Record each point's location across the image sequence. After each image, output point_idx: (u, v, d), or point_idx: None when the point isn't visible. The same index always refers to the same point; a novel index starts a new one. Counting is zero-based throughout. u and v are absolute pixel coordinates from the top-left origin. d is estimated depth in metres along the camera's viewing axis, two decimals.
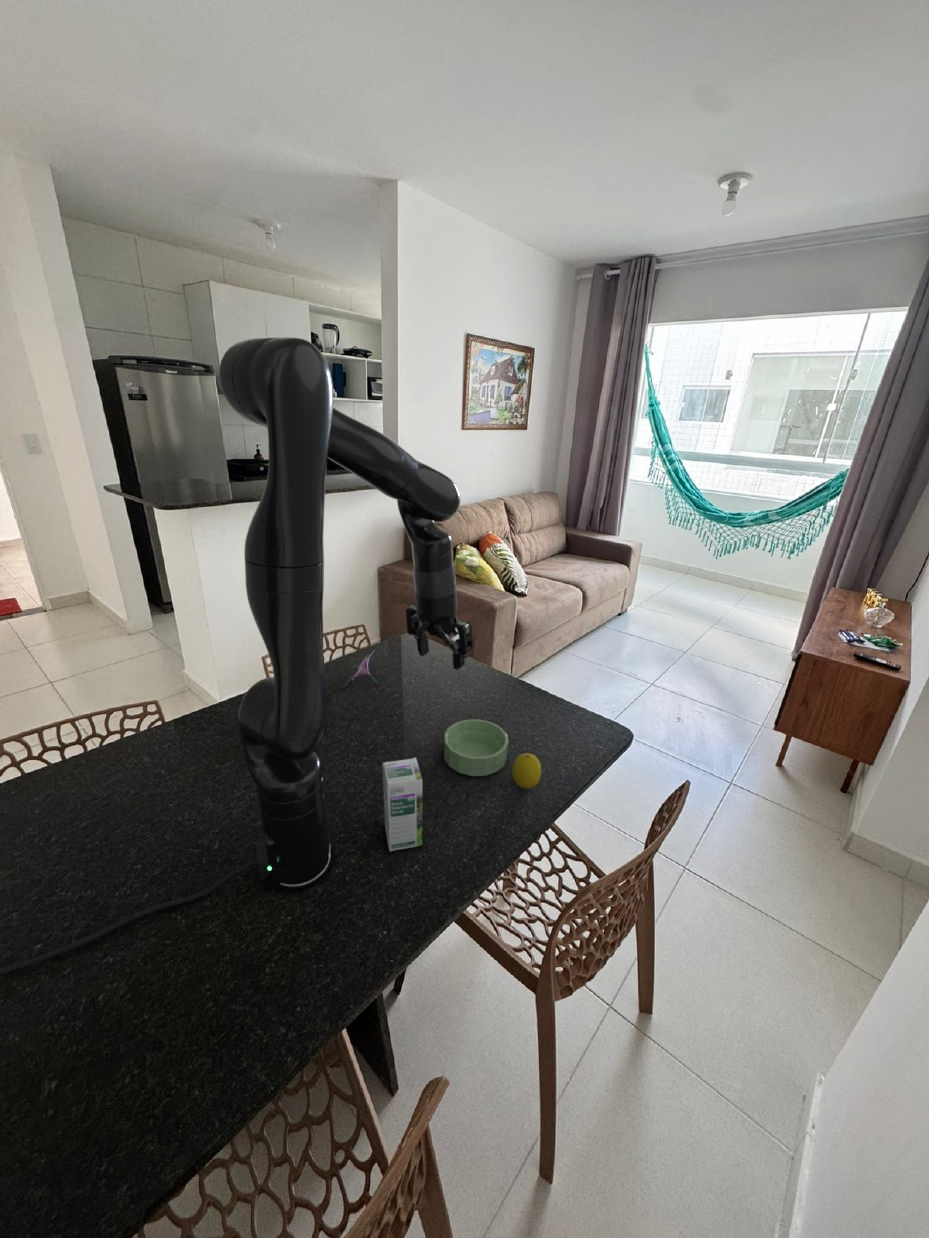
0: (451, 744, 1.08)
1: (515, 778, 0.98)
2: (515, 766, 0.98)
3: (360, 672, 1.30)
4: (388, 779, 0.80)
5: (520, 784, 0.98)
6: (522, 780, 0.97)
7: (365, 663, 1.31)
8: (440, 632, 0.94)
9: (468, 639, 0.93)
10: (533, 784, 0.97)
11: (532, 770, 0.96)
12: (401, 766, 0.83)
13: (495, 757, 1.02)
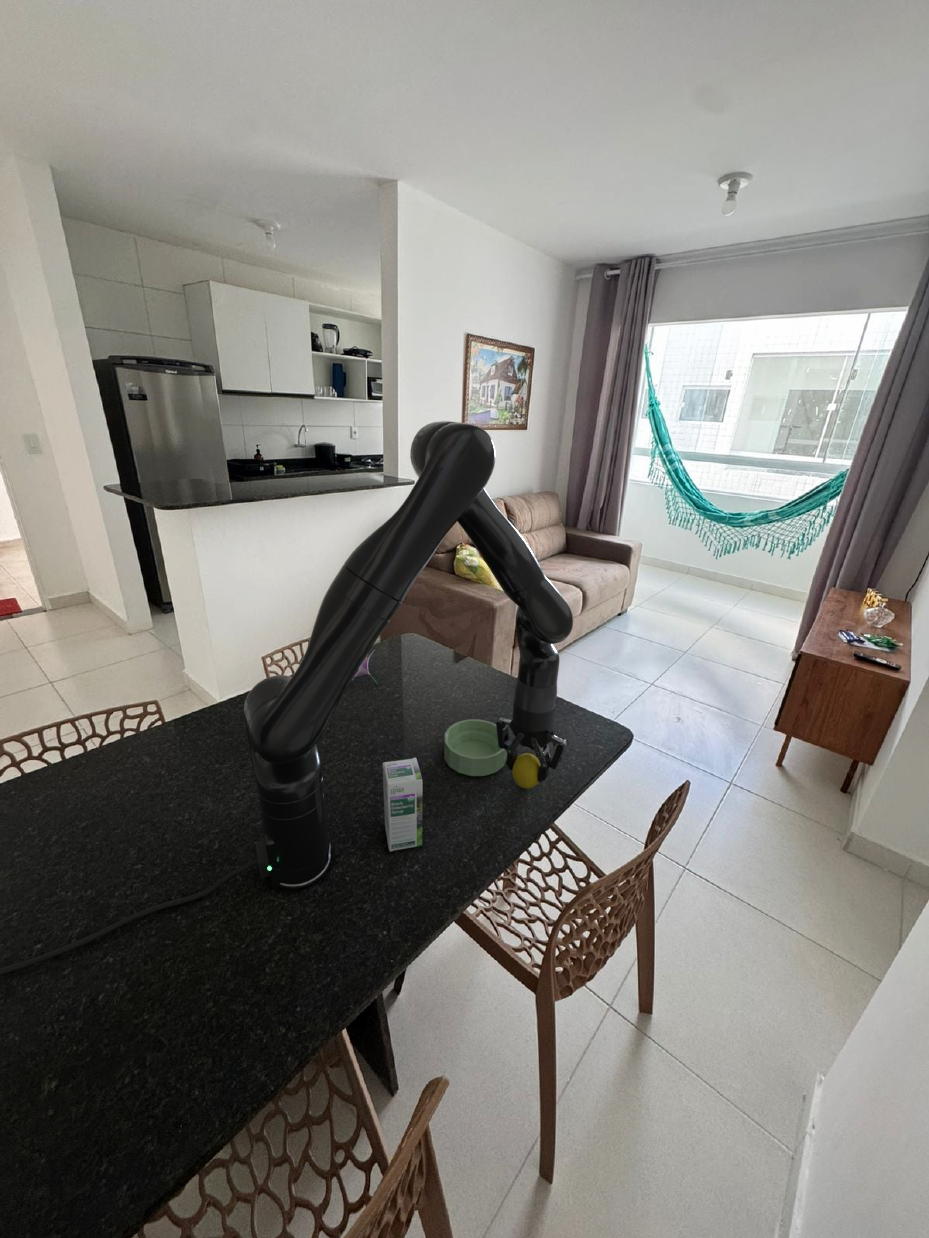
0: (451, 744, 1.08)
1: (515, 778, 0.98)
2: (515, 766, 0.98)
3: (360, 672, 1.30)
4: (388, 779, 0.81)
5: (520, 784, 0.98)
6: (522, 780, 0.97)
7: (365, 663, 1.31)
8: (535, 745, 0.94)
9: (561, 755, 0.94)
10: (533, 784, 0.97)
11: (532, 770, 0.96)
12: (401, 766, 0.83)
13: (495, 757, 1.02)
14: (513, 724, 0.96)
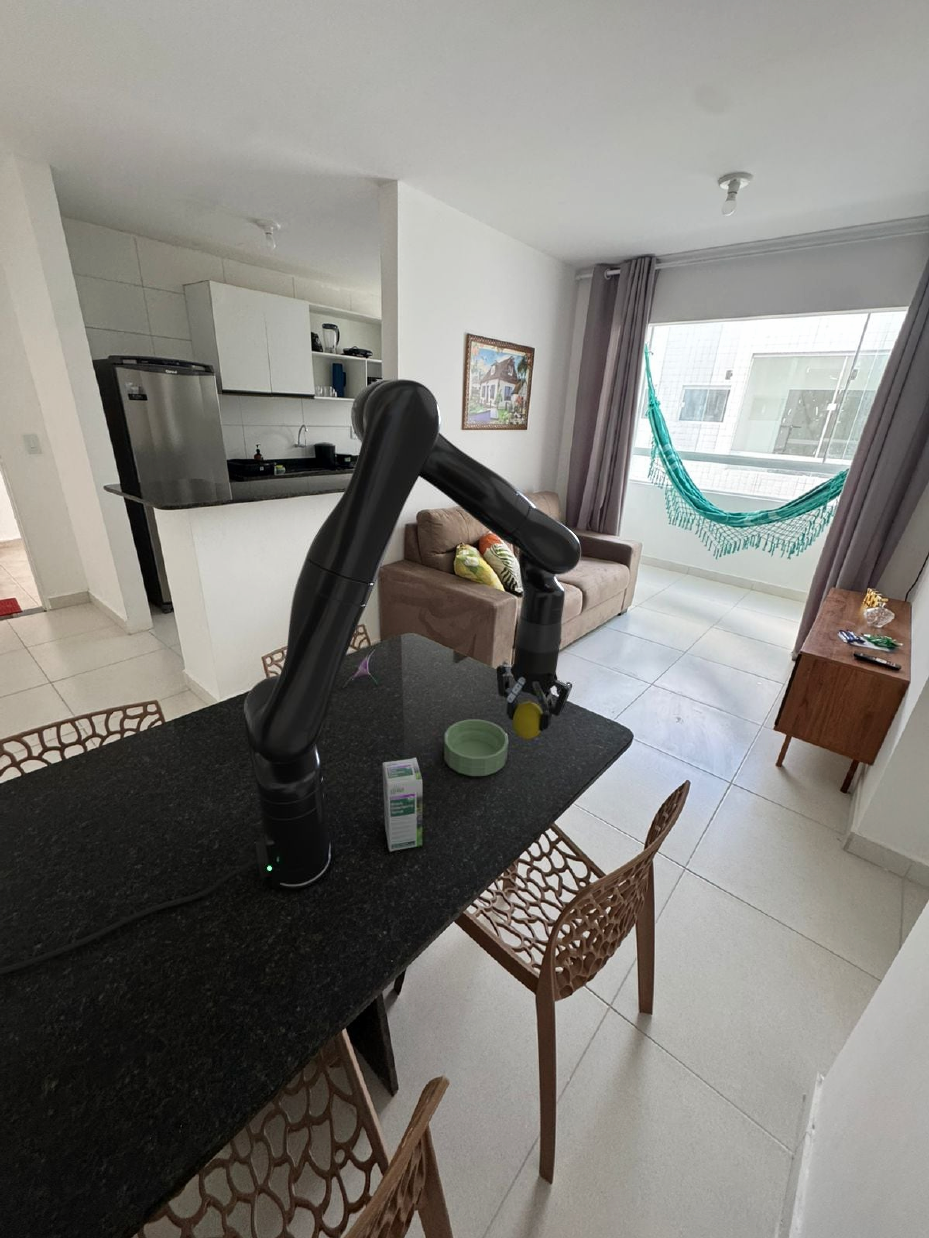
0: (451, 744, 1.08)
1: (516, 727, 0.93)
2: (516, 714, 0.93)
3: (360, 672, 1.30)
4: (388, 779, 0.80)
5: (521, 733, 0.93)
6: (523, 728, 0.92)
7: (365, 663, 1.31)
8: (537, 689, 0.89)
9: (565, 701, 0.89)
10: (535, 733, 0.92)
11: (534, 718, 0.91)
12: (401, 766, 0.83)
13: (495, 757, 1.02)
14: (514, 668, 0.91)
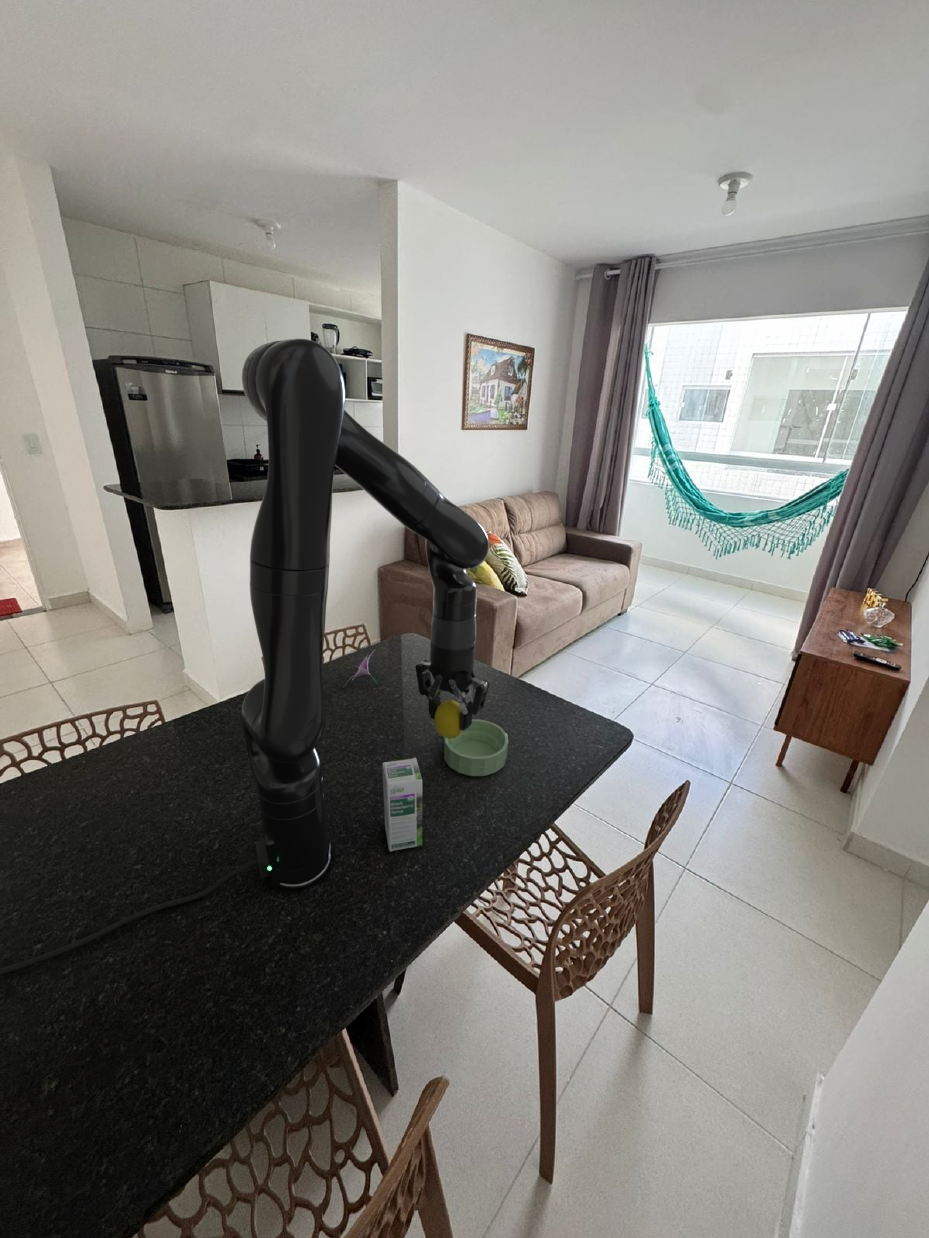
0: (451, 744, 1.08)
1: (436, 726, 0.91)
2: (436, 713, 0.90)
3: (360, 672, 1.30)
4: (388, 779, 0.80)
5: (441, 733, 0.90)
6: (442, 728, 0.89)
7: (365, 663, 1.31)
8: (454, 688, 0.86)
9: (482, 699, 0.86)
10: (455, 733, 0.90)
11: (453, 717, 0.89)
12: (401, 766, 0.83)
13: (495, 757, 1.02)
14: (432, 666, 0.88)
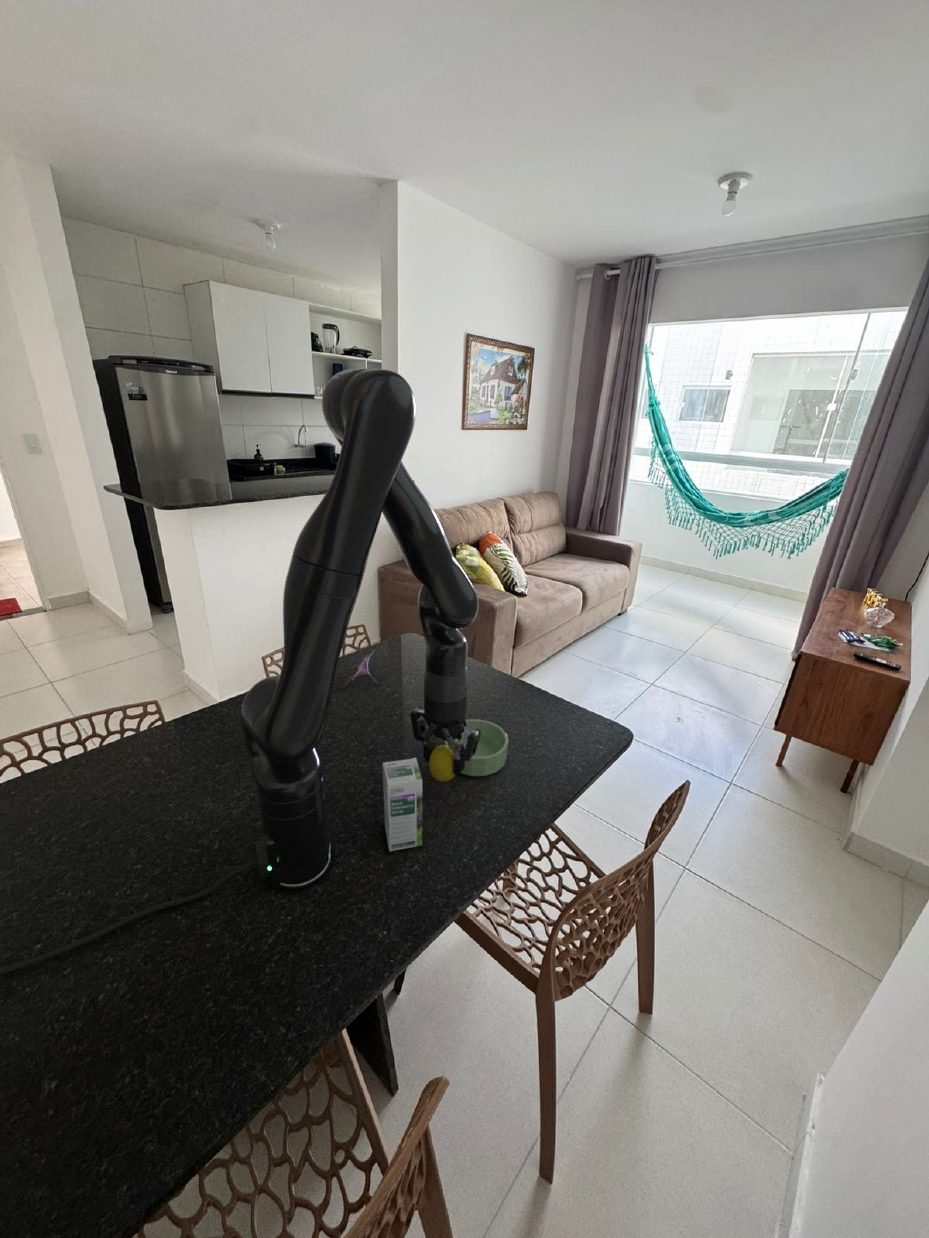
0: None
1: (431, 770, 0.95)
2: (430, 758, 0.94)
3: (360, 672, 1.30)
4: (388, 779, 0.81)
5: (436, 777, 0.94)
6: (437, 772, 0.93)
7: (365, 663, 1.31)
8: (447, 736, 0.90)
9: (474, 746, 0.90)
10: (449, 777, 0.94)
11: (447, 762, 0.93)
12: (401, 766, 0.83)
13: (495, 757, 1.02)
14: (426, 715, 0.92)
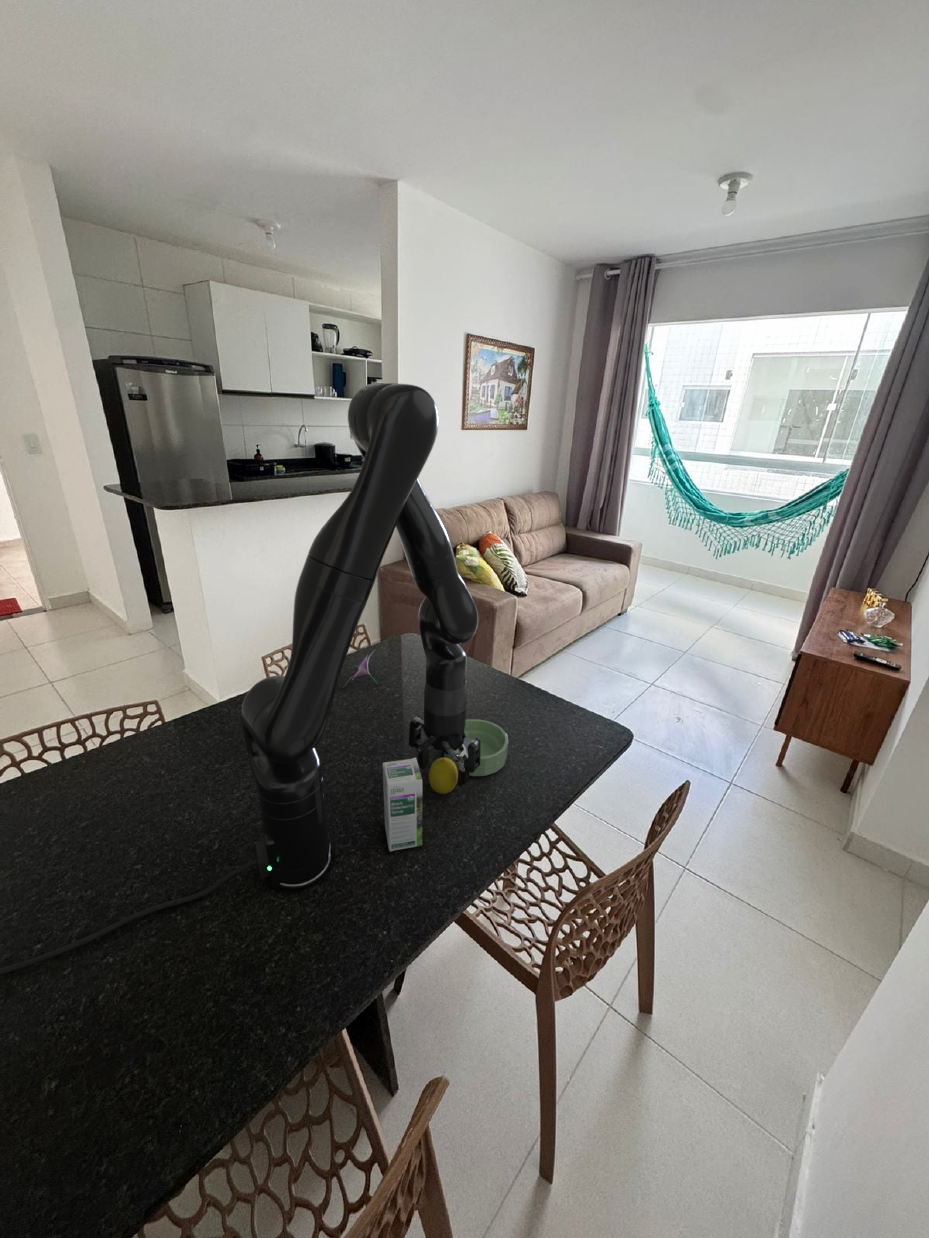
0: None
1: (430, 783, 0.96)
2: (430, 771, 0.96)
3: (360, 672, 1.30)
4: (388, 779, 0.81)
5: (435, 789, 0.95)
6: (436, 785, 0.95)
7: (365, 663, 1.31)
8: (447, 748, 0.91)
9: (477, 756, 0.91)
10: (448, 789, 0.95)
11: (446, 775, 0.94)
12: (401, 766, 0.83)
13: (495, 757, 1.02)
14: (426, 727, 0.93)
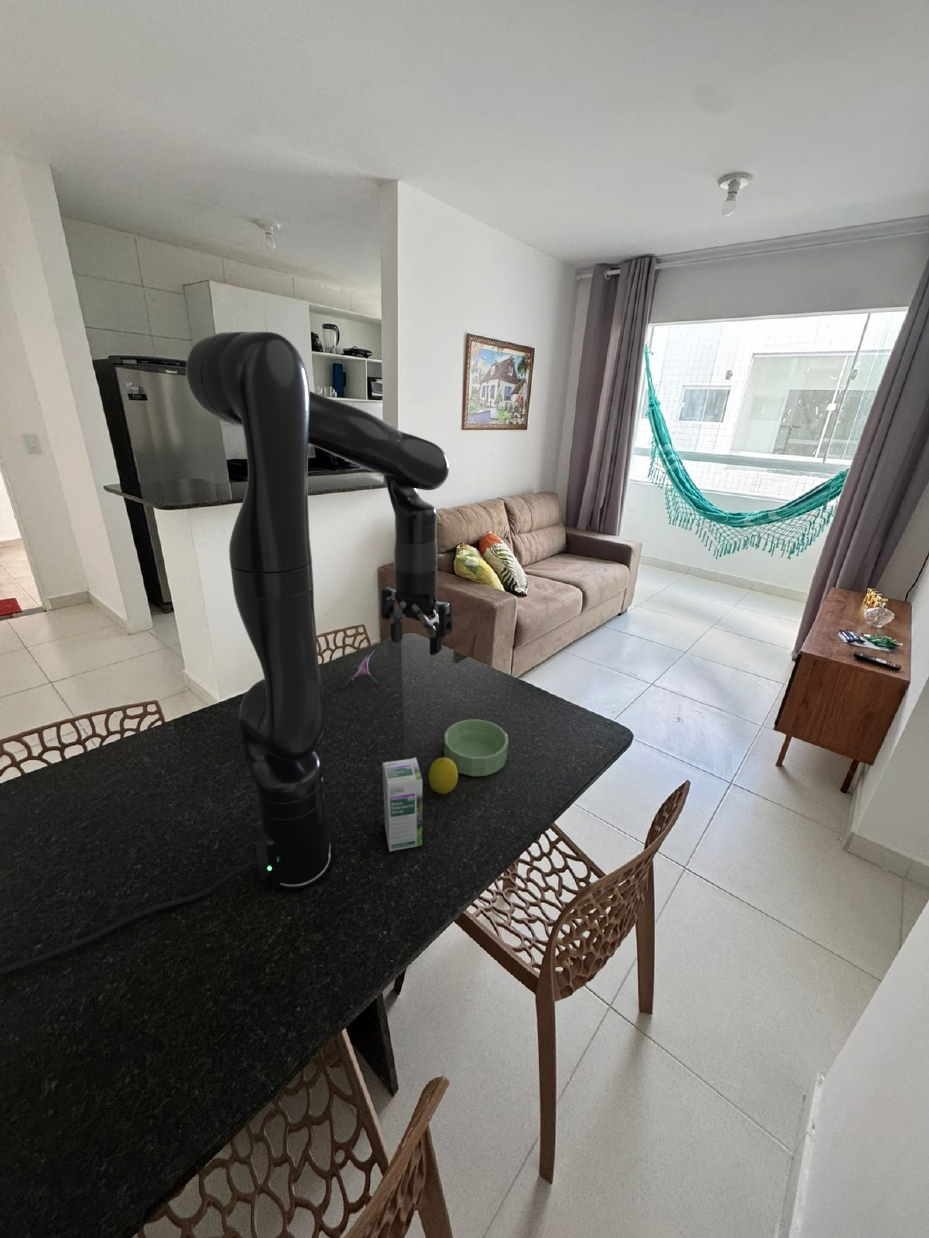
0: (451, 744, 1.08)
1: (430, 783, 0.96)
2: (430, 771, 0.96)
3: (360, 672, 1.30)
4: (388, 779, 0.80)
5: (435, 789, 0.95)
6: (436, 785, 0.95)
7: (365, 663, 1.31)
8: (418, 612, 0.89)
9: (448, 620, 0.89)
10: (448, 789, 0.95)
11: (446, 775, 0.94)
12: (401, 766, 0.83)
13: (495, 757, 1.02)
14: (397, 594, 0.91)
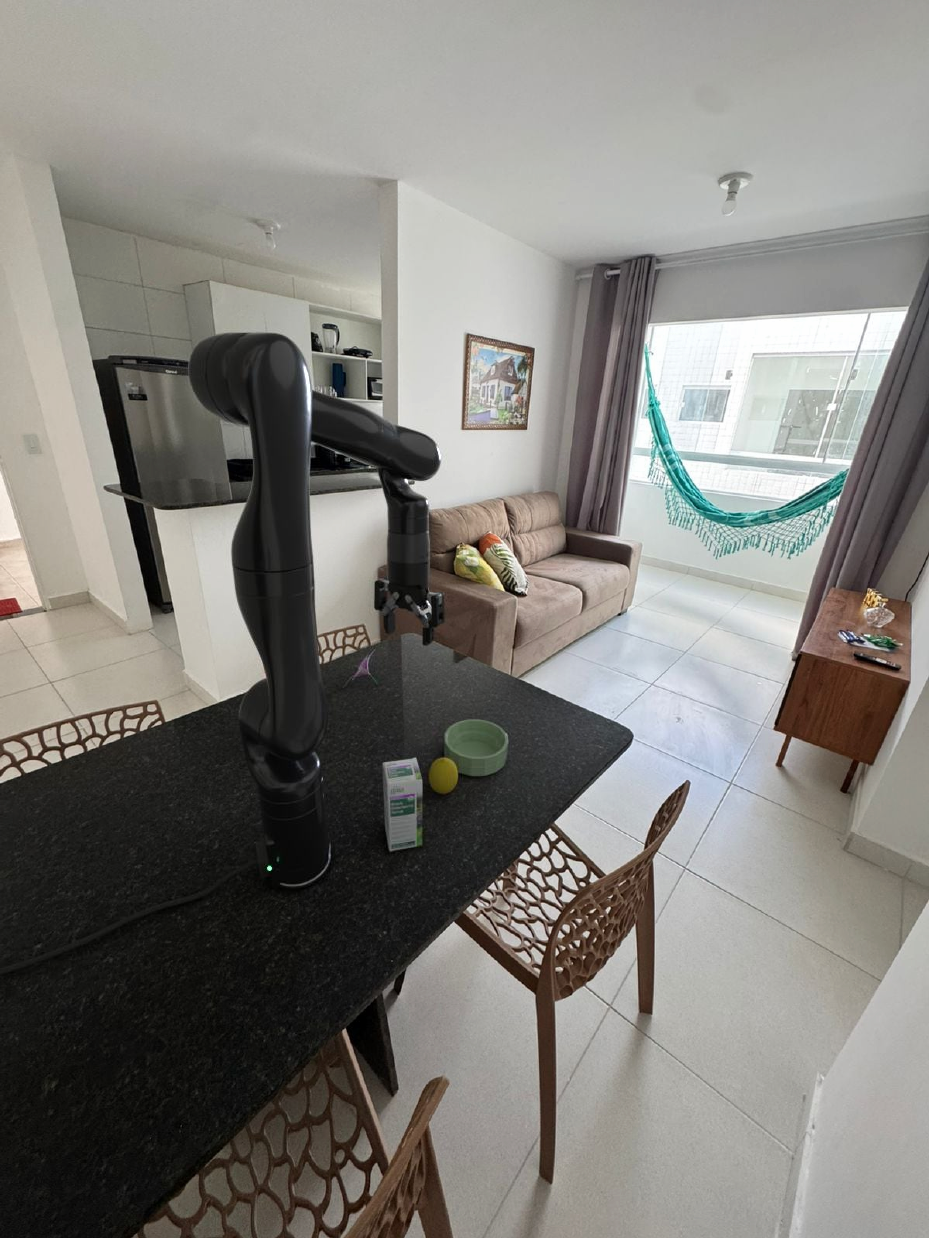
0: (451, 744, 1.08)
1: (430, 783, 0.96)
2: (430, 771, 0.96)
3: (360, 672, 1.30)
4: (388, 779, 0.80)
5: (435, 789, 0.95)
6: (436, 785, 0.95)
7: (365, 663, 1.31)
8: (411, 603, 0.90)
9: (440, 610, 0.90)
10: (448, 789, 0.95)
11: (446, 775, 0.94)
12: (401, 766, 0.83)
13: (495, 757, 1.02)
14: (390, 585, 0.92)
